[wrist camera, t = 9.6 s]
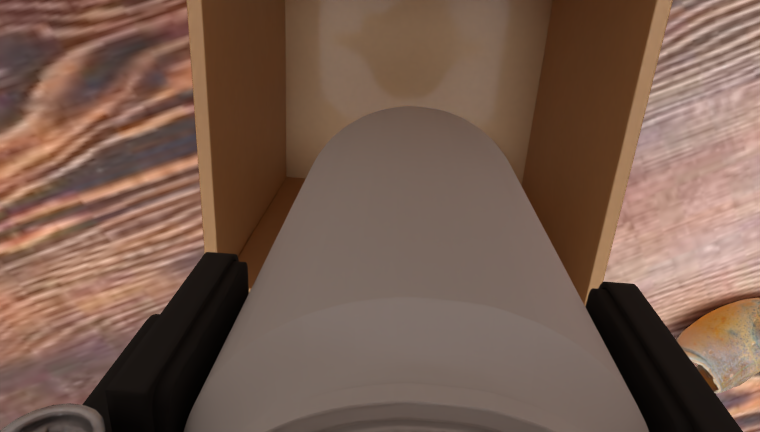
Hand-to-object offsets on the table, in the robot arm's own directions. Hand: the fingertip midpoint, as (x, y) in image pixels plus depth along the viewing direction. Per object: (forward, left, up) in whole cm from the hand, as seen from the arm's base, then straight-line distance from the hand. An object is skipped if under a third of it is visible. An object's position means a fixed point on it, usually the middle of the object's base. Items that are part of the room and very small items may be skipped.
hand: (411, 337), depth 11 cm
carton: (-1, 0, -23) cm, 23 cm away
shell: (+13, +22, -23) cm, 35 cm away
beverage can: (0, 0, -7) cm, 7 cm away
